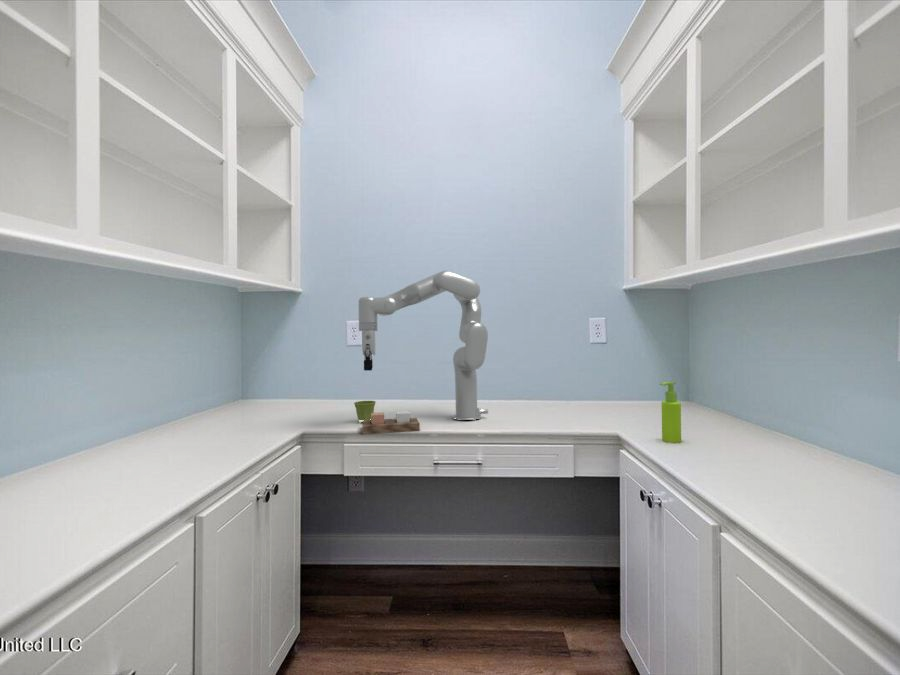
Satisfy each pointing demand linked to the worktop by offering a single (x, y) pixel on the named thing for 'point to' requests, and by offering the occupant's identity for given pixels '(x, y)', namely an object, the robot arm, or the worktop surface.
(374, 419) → the terracotta key
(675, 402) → the soap dispenser
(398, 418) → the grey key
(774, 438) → the worktop surface
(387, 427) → the brown rectangular frame
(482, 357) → the robot arm
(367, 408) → the plant pot
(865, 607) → the worktop surface
